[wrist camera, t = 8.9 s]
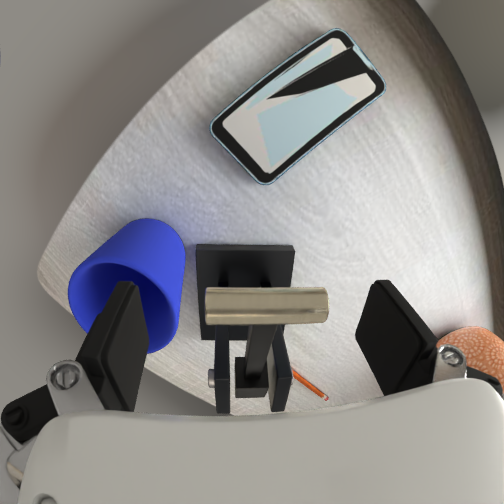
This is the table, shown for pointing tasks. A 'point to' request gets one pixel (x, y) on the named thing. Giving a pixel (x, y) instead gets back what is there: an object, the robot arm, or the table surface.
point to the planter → (479, 349)
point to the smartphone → (298, 105)
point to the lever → (262, 324)
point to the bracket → (244, 276)
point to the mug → (134, 277)
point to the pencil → (309, 386)
